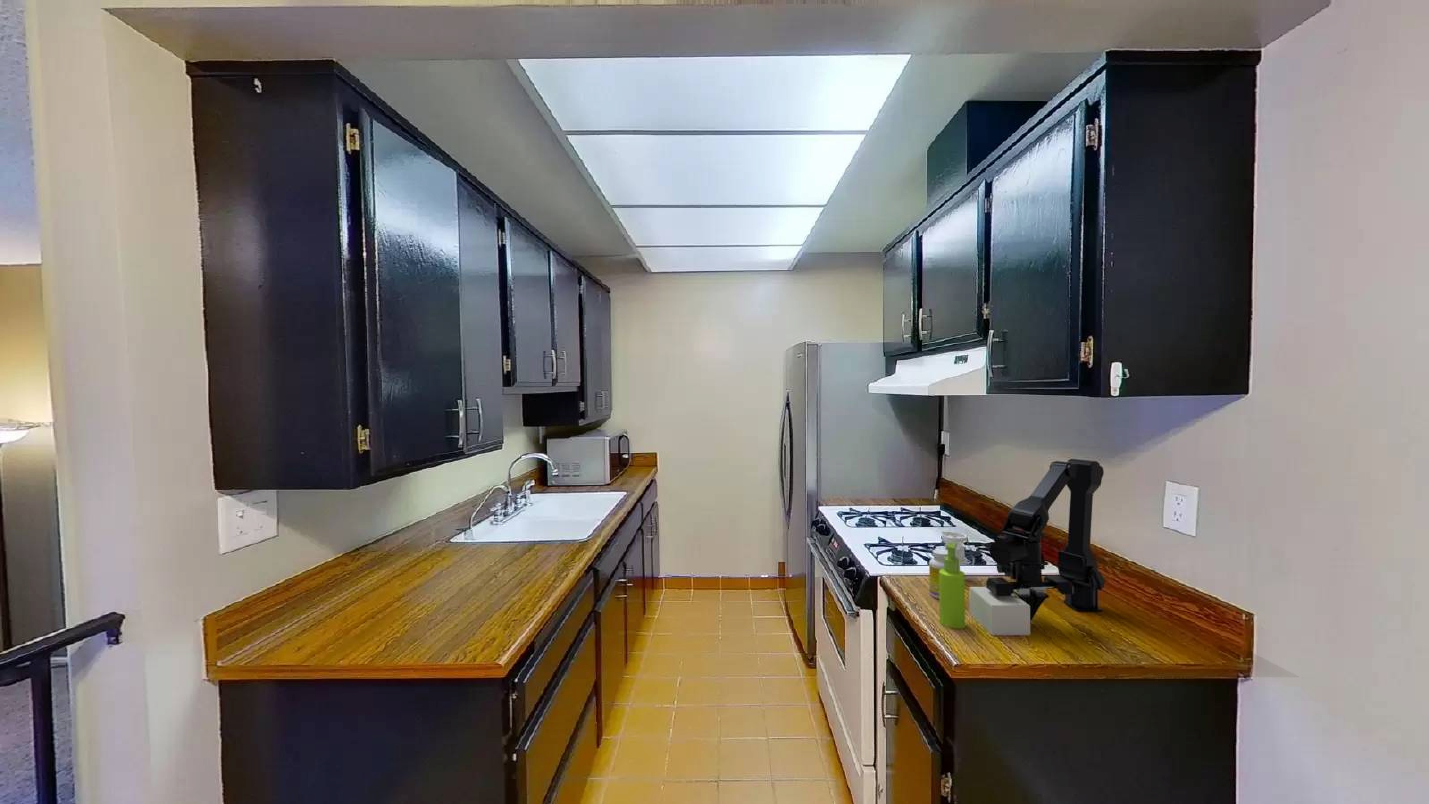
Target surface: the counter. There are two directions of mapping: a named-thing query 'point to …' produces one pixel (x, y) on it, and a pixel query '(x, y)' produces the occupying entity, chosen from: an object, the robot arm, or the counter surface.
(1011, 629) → the light grey rectangular block
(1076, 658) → the counter surface
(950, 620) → the soap dispenser
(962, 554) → the white tall piece
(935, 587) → the supplement bottle
